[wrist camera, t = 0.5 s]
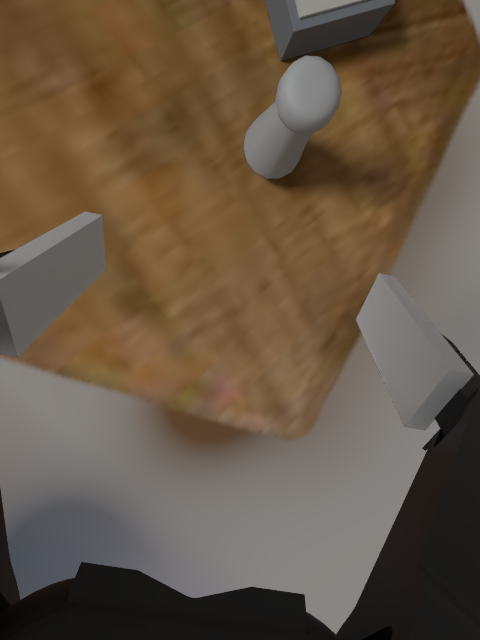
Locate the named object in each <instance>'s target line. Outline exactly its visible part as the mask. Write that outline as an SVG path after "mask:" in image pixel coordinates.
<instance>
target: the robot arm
mask: <svg viewBox="0 0 480 640" xmlns="http://www.w3.org/2000/svg"><path fill="white" fill-rule="evenodd" d="M105 270H106V266H105V251H104V235H103V220H102V215H99V214H94V213H90V212H83V213H82V214H80V215H78V216H76V217H74V218H73V219H71V220H69V221H67V222H65V223H63V224H62V225H60V226H58V227H56V228H54V229H52V230H51V231H49V232H47V233H45V234H43V235H42V236H40V237H38V238H36V239H34V240H32V241H31V242H29V243H27V244H25V245H23V246H22V247H20V248H18V249H16V250H11V251H7V252H3V253H0V354H5V355H10V356H16V357H18V356H19V355H20V354H21V353H22V352H23V351H25V350H26V349H27V348H28V347H29V346H30V345H31V344H32V343H33V342H34V341H35V340H36V339H37V338H38V337H39V336H40V335H41V334H42V333H43V332H44V331H45V330H46V329H47V328H48V327H49V326H50V325H51V324H52V323H53V322H54V321H55V320H56V319H57V318H58V317H59V316H60V315H61V314H62V313H63V312H64V311H65V310H66V309H67V308H68V307H69V306H70V305H71V304H72V303H73V302H74V301H75V300H76V299H77V298H78V297H79V296H80V295H81V294H82V293H83V292H84V291H85V290H86V289H87V288H88V287H89V286H90V285H91V284H92V283H93V282H94V281H95V280H96V279H97V278H98V277H99V276H100V275H101V274H102V273H103V272H104V271H105ZM356 321H357V323H358V326H359V328H360V330H361V332H362V335H363V337H364V339H365V341H366V343H367V346H368V348H369V350H370V352H371V354H372V357H373V359H374V361H375V363H376V365H377V368H378V370H379V372H380V374H381V377H382V379H383V381H384V383H385V385H386V388H387V390H388V392H389V394H390V396H391V398H392V401H393V403H394V405H395V408H396V410H397V412H398V414H399V416H400V418H401V420H402V423H403V425H404V427H409V428H415V429H420V430H426V429H427V428H428V426H429V425H430V424H431V423H432V422H433V421H434V419H436V421H437V423H438V425H439V426H440V428H441V429H440V430H439V431H438V432H437V433H436V434H435V435H434V436H433V438H431V439H430V441H429V442H428V443H427V444H426V445H425V446H424V447H423V449H424V450H427V449H428V450H427V452H426V454H425V456H424V459H423V461H422V463H421V465H420V468H419V470H418V472H417V474H416V476H415V478H414V480H413V483H412V485H411V487H410V489H409V491H408V494H407V496H406V498H405V500H404V502H403V504H402V507H401V509H400V511H399V513H398V515H397V518H396V520H395V522H394V524H393V526H392V528H391V530H390V533H389V535H388V537H387V539H386V541H385V544H384V546H383V548H382V550H381V552H380V554H379V557H378V559H377V561H376V563H375V566H374V567H373V570H372V572H371V574H370V576H369V579H368V581H367V583H366V585H365V587H364V589H363V591H362V594H361V596H360V598H359V600H358V602H357V604H356V606H355V608H354V610H353V611H352V613H351V614H350V616H349V617H348V618H347V620H346V621H345V622H344V624H343V625H342V626H341V628H340V629H339V631H338V633H337V634H335V633H334V632H332V631H331V630H330V629H329V628H328V627H327V626H326V625H325V624H323V623H322V622H321V621H319V620H318V619H316V618H315V617H314V616H312V615H311V614H309V613H307V612H306V607H305V595H303V594H297V593H290V592H283V591H276V590H270V589H263V588H256V587H249V588H244V589H239V590H234V591H229V592H224V593H219V594H214V595H210V596H204V597H200V598H191V597H188V596H186V595H184V594H182V593H180V592H178V591H176V590H174V589H172V588H170V587H169V586H167V585H165V584H163V583H161V582H159V581H157V580H155V579H153V578H151V577H150V576H148V575H145V574H144V573H142V572H140V571H138V570H132V569H124V568H118V567H111V566H104V565H98V564H91V563H84V562H81V565H80V567H79V570H78V572H77V574H76V577H75V578H72V579H67V580H63V581H60V582H57V583H54V584H51V585H49V586H47V587H45V588H42V589H40V590H38V591H36V592H33V593H32V594H30V595H28V596H27V597H25V598H23V599H22V600H20V596H19V590H18V586H17V582H16V578H15V575H14V572H13V568H12V565H11V561H10V556H9V549H8V542H7V535H6V527H5V520H4V512H3V505H2V497H1V490H0V640H480V375H479V374H478V373H477V372H476V370H475V369H474V368H473V367H472V366H471V364H470V363H469V362H468V361H466V358H465V357H464V356H463V355H462V354H461V353H460V351H459V350H458V349H457V347H456V346H455V345H454V344H453V343H452V342H451V341H450V340H448V339H447V338H446V337H445V336H443V335H442V334H441V333H440V332H439V331H438V329H437V328H436V327H435V326H434V324H433V323H432V322H431V321H430V320H429V318H428V317H427V316H426V315H425V313H424V312H423V311H422V310H421V309H420V307H419V306H418V305H417V304H416V302H415V301H414V300H413V299H412V297H411V296H410V295H409V294H408V292H407V291H406V290H405V289H404V288H403V286H402V285H401V284H400V283H399V281H398V280H397V279H396V278H395V277H394V276H391V275H386V274H381V273H379V274H378V276H377V278H376V280H375V282H374V284H373V286H372V288H371V290H370V292H369V294H368V296H367V298H366V300H365V302H364V304H363V306H362V308H361V310H360V312H359V314H358V316H357V318H356Z"/></svg>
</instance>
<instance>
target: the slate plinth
mask: <svg viewBox="0 0 480 640" xmlns="http://www.w3.org/2000/svg"><path fill="white" fill-rule="evenodd" d="M265 2H266V6H267V10H268V14H269V18H270V21H271V25H272V29H273V33H274V37H275V41H276V45H277V49H278V53H279V56H280V60H281V61H283V60H287V59H290V58H293V57H297V56H300V55H304V54H307V53H311V52H314V51H318V50H321V49H325V48H328V47H331V46H335V45H338V44H342V43H345V42H349V41H352V40H356V39H359V38H363V37H366V36H369V35H371V33H372V32H373V31H374V29H375V28H376V27H377V26H378V24H379V23H380V22H381V20H382V19H383V18H384V17H385V15H386V14H387V13H388V12H389V10H390V9H391V8H392V6H393V5H394V4H395V1H394V0H265Z"/></svg>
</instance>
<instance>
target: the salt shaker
mask: <svg viewBox="0 0 480 640" xmlns="http://www.w3.org/2000/svg"><path fill="white" fill-rule="evenodd" d="M341 93H342V91H341V85H340V79H339V76H338V74H337V73H336V71H335V69H334V68H333V66H332V64H330V63H329V62H327V61H326V60H324V59H322V58H321V57H319V56H304V57H302V58H300V59H298V60H296V61H294V62H293V63H292V64H291V65H290V66H289V68H288V69H287V71H286V72H285V73H284V75H283V76H282V78H281V79H280V82H279V84H278V89H277V95H276V101H275V102H274V103H273V104H272V105H271V106H270V107H269V108H268V109H267V110H265V111H264V112H263V113H262V114H261V115H260V116H259V117H258V118H257V119H256V120H254V122H253V123H252V125H251V126H250V127H249V129H248V130H247V132H246V137H245V143H244V152H245V156H246V160H247V163H248V164H249V165H250V167H251V168H252V169H253V171H254V172H255V173H256V174H258V175H260V176H262V177H264V178H266V179H279V178H281V177H283V176H285V175H287V174H289V173H291V172H292V171H293V169H294V168H295V167H296V165H297V164H298V162H299V160H300V158H301V156H302V153H303V151H304V149H305V146H306V144H307V141H308V139H309V137H310V134H312V133H314V132H316V131H318V130H320V129H322V128H323V127H325V126H326V125H327V124H328V122H329V121H330V120H331V118H332V117H333V115H334V114H335V112H336V110H337V109H338V107H339V102H340V98H341Z"/></svg>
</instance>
